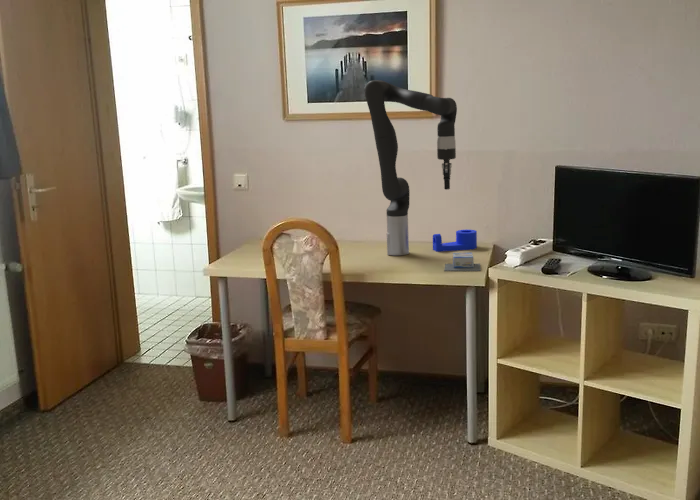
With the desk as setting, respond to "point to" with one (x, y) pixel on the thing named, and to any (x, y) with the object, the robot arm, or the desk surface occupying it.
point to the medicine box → (463, 260)
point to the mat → (451, 268)
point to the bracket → (463, 241)
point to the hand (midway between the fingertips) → (447, 189)
